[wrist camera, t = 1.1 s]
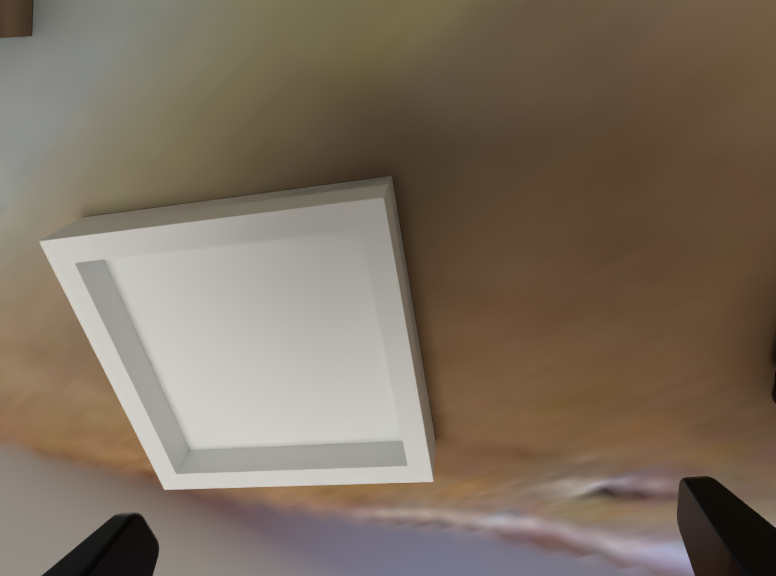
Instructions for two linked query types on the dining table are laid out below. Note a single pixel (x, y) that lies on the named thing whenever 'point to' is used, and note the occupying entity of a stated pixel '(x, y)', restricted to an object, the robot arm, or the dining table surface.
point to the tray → (258, 335)
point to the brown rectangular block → (16, 18)
